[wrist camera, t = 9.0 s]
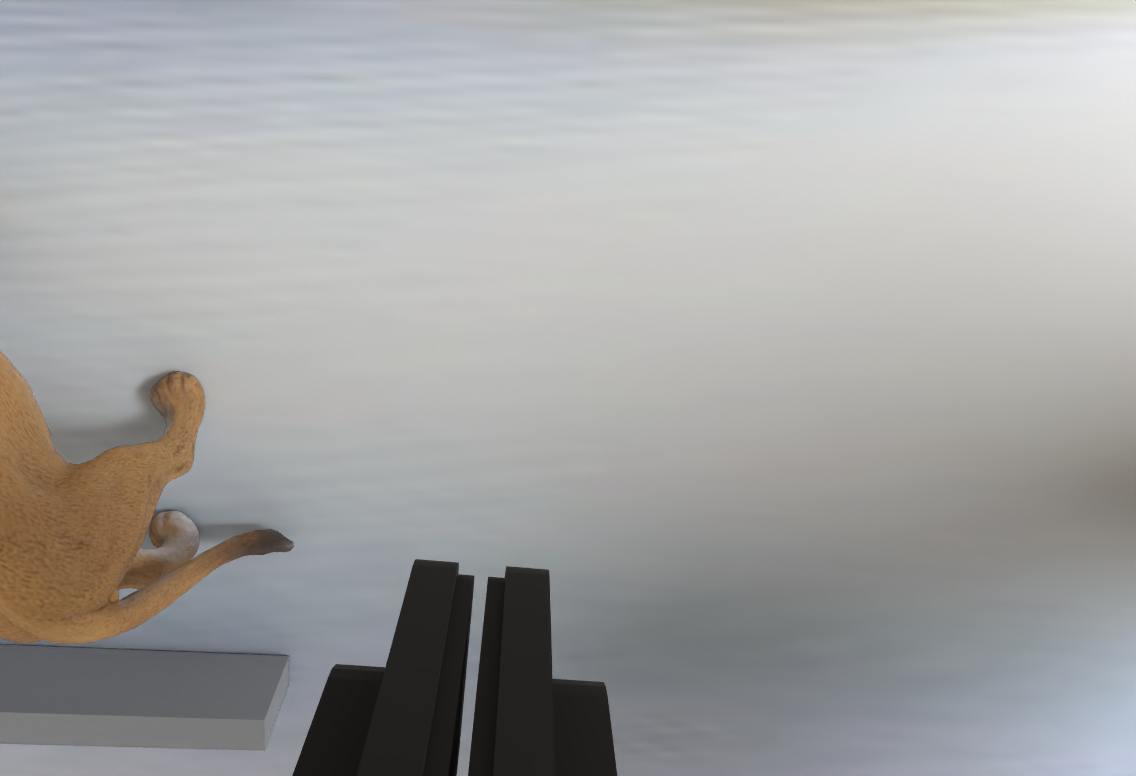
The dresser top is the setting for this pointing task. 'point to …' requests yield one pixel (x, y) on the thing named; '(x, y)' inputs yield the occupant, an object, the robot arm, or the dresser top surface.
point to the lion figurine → (98, 523)
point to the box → (139, 697)
